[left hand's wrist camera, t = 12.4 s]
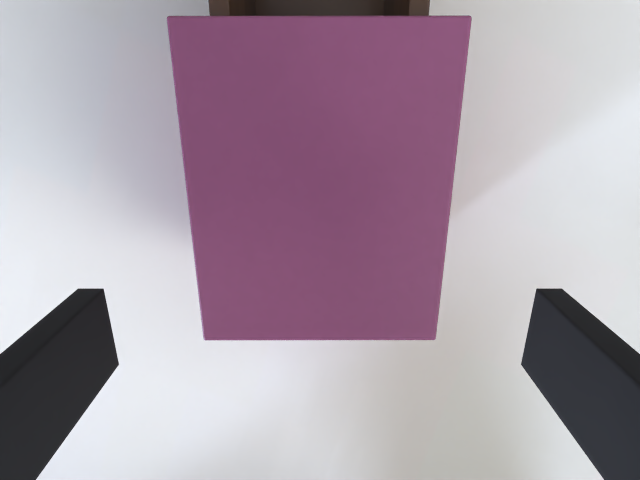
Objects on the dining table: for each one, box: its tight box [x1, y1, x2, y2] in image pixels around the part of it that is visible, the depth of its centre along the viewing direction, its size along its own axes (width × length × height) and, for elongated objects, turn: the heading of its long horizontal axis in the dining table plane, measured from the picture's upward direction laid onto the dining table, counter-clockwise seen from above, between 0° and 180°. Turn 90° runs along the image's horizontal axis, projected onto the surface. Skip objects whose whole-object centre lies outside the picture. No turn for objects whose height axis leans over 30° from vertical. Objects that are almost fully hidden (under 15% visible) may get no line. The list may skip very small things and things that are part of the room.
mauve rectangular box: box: [167, 16, 471, 340], centre depth 22 cm, size 14×11×10 cm
